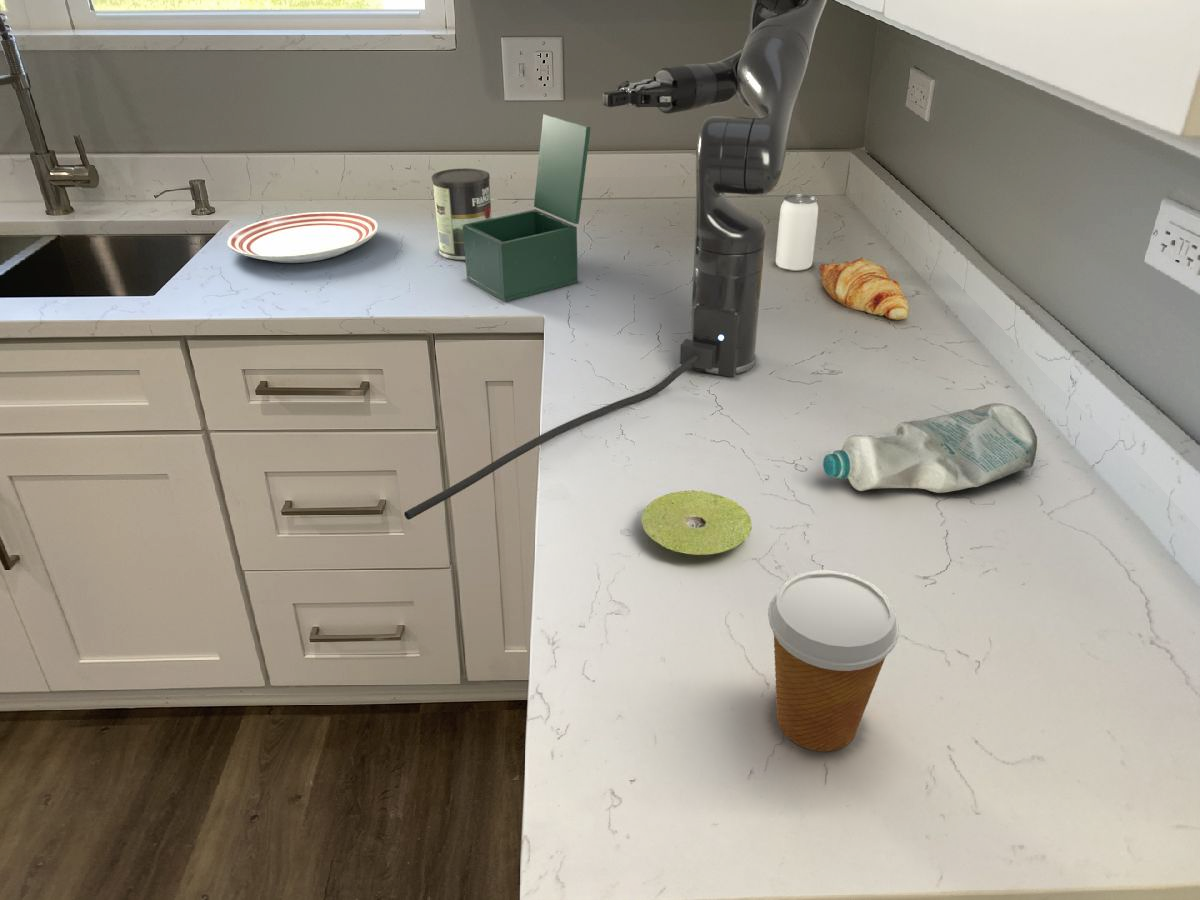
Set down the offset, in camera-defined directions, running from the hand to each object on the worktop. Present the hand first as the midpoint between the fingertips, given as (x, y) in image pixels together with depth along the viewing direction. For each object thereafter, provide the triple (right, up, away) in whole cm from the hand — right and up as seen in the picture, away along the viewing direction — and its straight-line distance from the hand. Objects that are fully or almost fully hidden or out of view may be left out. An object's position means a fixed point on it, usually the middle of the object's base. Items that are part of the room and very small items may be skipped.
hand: (605, 100), depth 154 cm
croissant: (+41, -34, -4) cm, 54 cm away
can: (+34, -25, +11) cm, 44 cm away
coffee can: (-26, -21, +19) cm, 39 cm away
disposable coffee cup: (+17, -80, -79) cm, 114 cm away
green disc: (+9, -67, -58) cm, 89 cm away
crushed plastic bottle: (+36, -61, -48) cm, 86 cm away
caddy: (-14, -29, +5) cm, 33 cm away
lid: (-8, -11, 0) cm, 14 cm away
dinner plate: (-56, -20, +21) cm, 64 cm away
